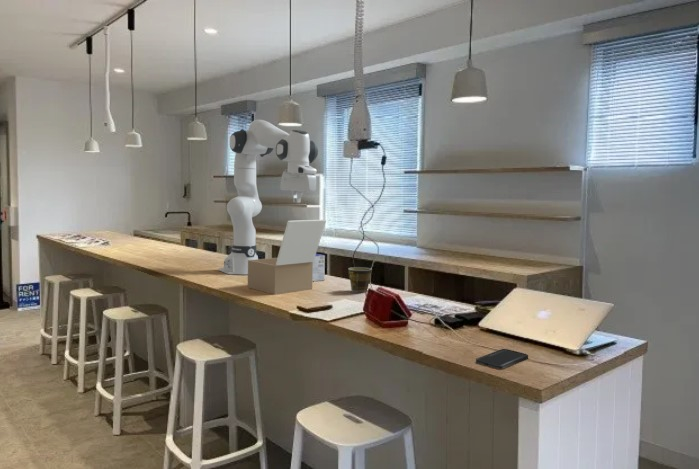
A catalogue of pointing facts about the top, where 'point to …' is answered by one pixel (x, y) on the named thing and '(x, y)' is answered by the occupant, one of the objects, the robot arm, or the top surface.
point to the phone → (502, 358)
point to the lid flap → (300, 241)
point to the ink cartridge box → (318, 268)
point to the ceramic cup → (359, 279)
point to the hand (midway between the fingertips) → (296, 202)
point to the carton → (279, 276)
